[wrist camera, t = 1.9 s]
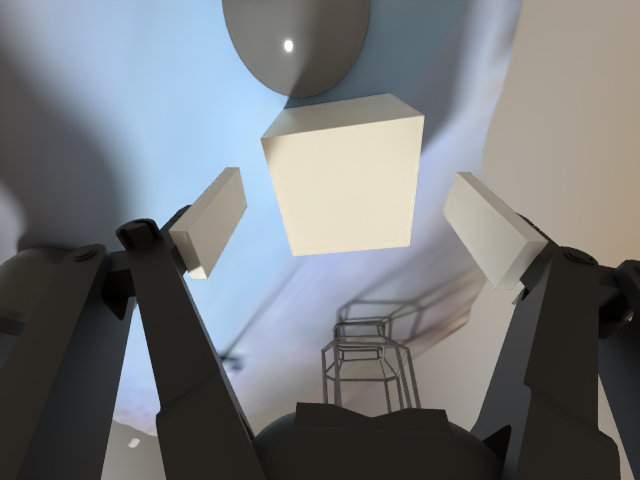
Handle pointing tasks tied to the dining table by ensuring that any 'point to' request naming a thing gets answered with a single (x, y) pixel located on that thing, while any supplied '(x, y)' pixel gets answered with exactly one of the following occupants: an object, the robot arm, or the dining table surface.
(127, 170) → the dining table surface
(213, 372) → the robot arm
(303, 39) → the coaster
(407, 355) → the geometric lantern
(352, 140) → the cream cube
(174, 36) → the dining table surface
